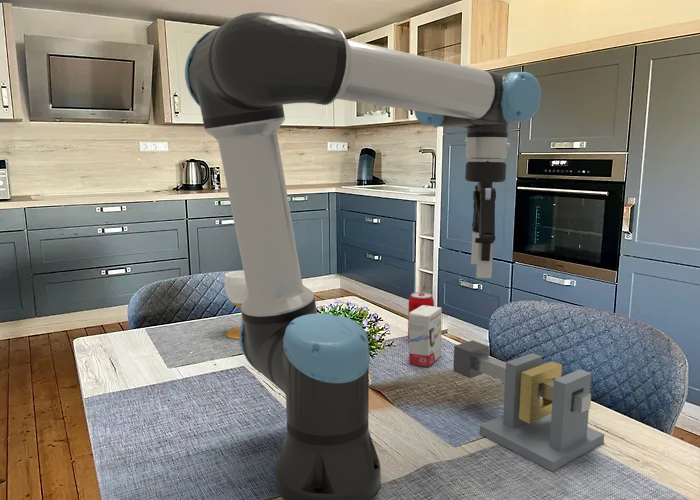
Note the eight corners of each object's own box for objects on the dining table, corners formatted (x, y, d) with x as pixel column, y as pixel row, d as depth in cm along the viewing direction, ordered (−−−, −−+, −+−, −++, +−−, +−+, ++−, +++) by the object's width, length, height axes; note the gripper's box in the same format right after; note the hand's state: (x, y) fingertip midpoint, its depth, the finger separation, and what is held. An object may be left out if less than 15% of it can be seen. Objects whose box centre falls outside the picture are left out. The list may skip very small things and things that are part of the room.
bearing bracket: (552, 471, 83) (557, 392, 80) (479, 433, 94) (482, 363, 92) (603, 442, 91) (609, 370, 88) (530, 410, 102) (534, 345, 100)
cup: (268, 331, 147) (266, 272, 144) (244, 341, 140) (242, 279, 137) (243, 326, 152) (240, 268, 149) (218, 335, 144) (215, 275, 142)
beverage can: (405, 343, 137) (406, 296, 135) (410, 336, 143) (411, 290, 141) (430, 346, 136) (432, 298, 134) (434, 338, 141) (435, 292, 139)
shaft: (575, 423, 84) (578, 392, 83) (453, 371, 104) (454, 345, 103) (594, 414, 87) (596, 383, 86) (471, 365, 106) (472, 340, 106)
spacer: (529, 423, 89) (532, 376, 87) (519, 418, 90) (521, 372, 89) (558, 409, 93) (561, 364, 92) (548, 405, 95) (551, 361, 94)
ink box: (428, 368, 122) (429, 316, 120) (407, 364, 124) (407, 313, 122) (442, 355, 129) (443, 306, 127) (421, 352, 132) (422, 304, 130)
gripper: (516, 161, 93) (508, 285, 96) (498, 160, 117) (493, 259, 121) (470, 161, 94) (464, 283, 97) (462, 160, 118) (458, 258, 122)
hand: (480, 270), depth 109 cm, fingers open, 13 cm apart
